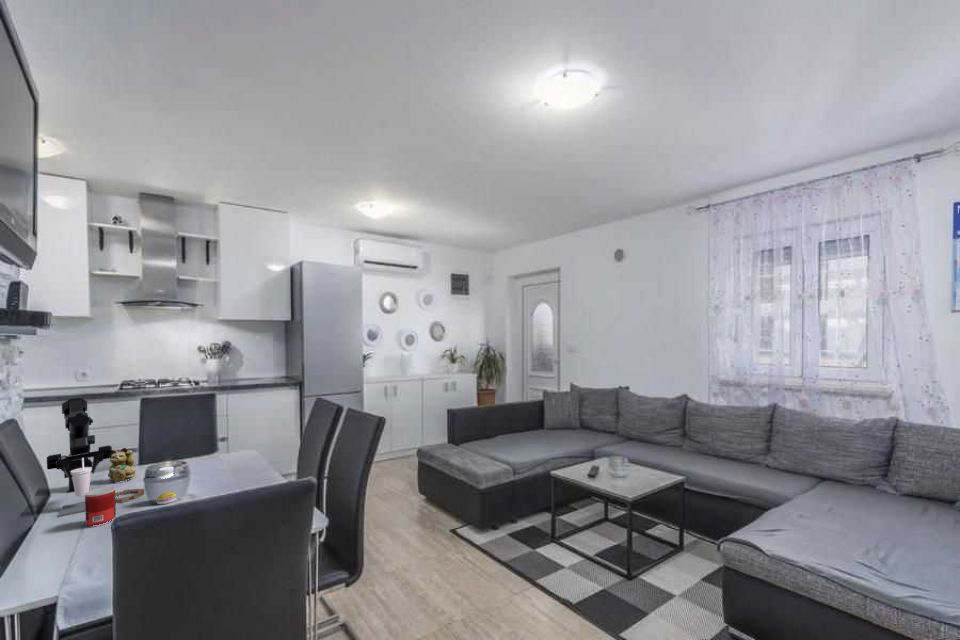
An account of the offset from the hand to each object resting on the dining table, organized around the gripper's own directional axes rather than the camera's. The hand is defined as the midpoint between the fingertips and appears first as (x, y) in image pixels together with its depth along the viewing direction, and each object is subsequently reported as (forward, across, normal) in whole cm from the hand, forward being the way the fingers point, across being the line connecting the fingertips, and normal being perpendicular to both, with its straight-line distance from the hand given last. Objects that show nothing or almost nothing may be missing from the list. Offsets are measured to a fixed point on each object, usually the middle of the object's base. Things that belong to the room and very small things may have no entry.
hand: (81, 475), depth 167 cm
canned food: (+26, +4, -8) cm, 27 cm away
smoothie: (+5, 0, +6) cm, 8 cm away
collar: (+8, +13, +10) cm, 18 cm away
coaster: (+8, 0, +10) cm, 13 cm away
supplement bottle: (+22, +24, -5) cm, 33 cm away
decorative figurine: (-12, +15, +31) cm, 36 cm away
